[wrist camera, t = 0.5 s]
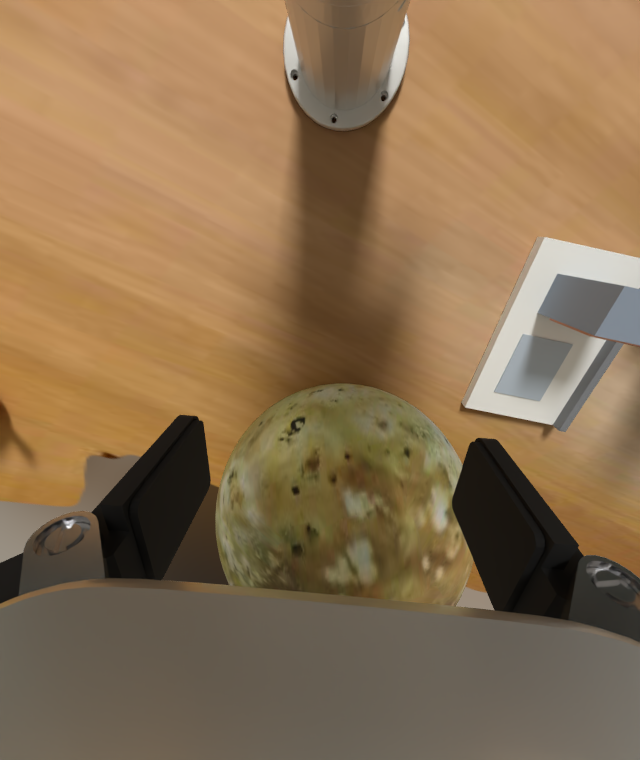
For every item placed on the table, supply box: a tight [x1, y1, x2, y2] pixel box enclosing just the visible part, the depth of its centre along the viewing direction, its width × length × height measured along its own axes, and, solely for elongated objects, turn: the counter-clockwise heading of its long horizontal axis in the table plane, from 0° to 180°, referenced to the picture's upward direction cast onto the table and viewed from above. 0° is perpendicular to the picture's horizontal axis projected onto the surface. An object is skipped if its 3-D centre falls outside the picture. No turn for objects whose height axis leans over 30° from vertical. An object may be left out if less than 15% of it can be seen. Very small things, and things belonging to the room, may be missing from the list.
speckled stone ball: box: [216, 383, 473, 606], centre depth 38 cm, size 30×30×30 cm
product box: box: [538, 274, 640, 347], centre depth 35 cm, size 5×7×10 cm
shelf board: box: [461, 237, 640, 432], centre depth 42 cm, size 24×15×3 cm, turn 169°
